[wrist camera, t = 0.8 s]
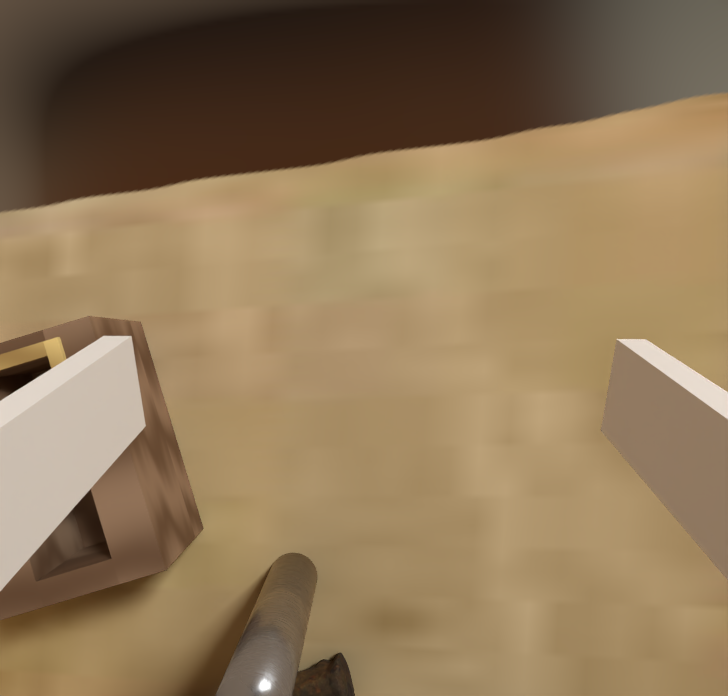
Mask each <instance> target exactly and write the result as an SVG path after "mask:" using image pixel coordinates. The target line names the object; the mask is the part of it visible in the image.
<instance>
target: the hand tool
mask: <svg viewBox="0 0 728 696" xmlns="http://www.w3.org/2000/svg"><path fill="white" fill-rule="evenodd" d="M292 696H355V694H354V688H353V684H352V679H351V675H350V671H349V668H348V665H347V662H346V660H345V658H344V656H343V655H342V653H338V654H337V655H336V657H335V658H334V660H332V661H328V660H324V659H323V660H322V661H321V662H319V663H318V664H317V666H314V667H311V668H309V669H306V670H303V671H299V672H297V677H296V681H295V686H294V691H293V695H292Z"/></svg>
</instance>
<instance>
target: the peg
mask: <svg viewBox="0 0 728 696" xmlns="http://www.w3.org/2000/svg"><path fill="white" fill-rule="evenodd" d="M316 583H317V571H316V568H315V566H314V564H313V563H312V561H311V560H310V559H309V558H307V557H306V556H304V555H302V554H299V553H288V554H285V555H282V556H281V557H279V558H278V559H277V560H276V561H275V562H274V563H273V565H272V567H271V569H270V571H269V574H268V576H267V578H266V581H265V583H264V585H263V587H262V590H261V592H260V594H259V597H258V599H257V601H256V603H255V606H254V608H253V610H252V613H251V615H250V617H249V620H248V622H247V624H246V626H245V629H244V631H243V633H242V636H241V638H240V640H239V643H238V645H237V647H236V649H235V652H234V654H233V656H232V659H231V661H230V663H229V666H228V668H227V670H226V672H225V675H224V677H223V679H222V682H221V684H220V686H219V688H218V691H217V693H216V695H215V696H292V695H293V691H294V686H295V681H296V677H297V672H298V667H299V663H300V658H301V653H302V649H303V644H304V639H305V635H306V630H307V625H308V621H309V616H310V611H311V607H312V602H313V597H314V593H315V588H316Z"/></svg>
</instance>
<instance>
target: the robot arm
mask: <svg viewBox="0 0 728 696" xmlns="http://www.w3.org/2000/svg"><path fill="white" fill-rule="evenodd" d="M145 426H146V424H145V418H144V412H143V406H142V399H141V393H140V387H139V380H138V374H137V368H136V362H135V355H134V349H133V343H132V336H103V337H101V338H99V339H98V340H96V341H95V342H93V343H92V344H90V345H88V346H87V347H85V348H84V349H82V350H80V351H79V352H77V353H76V354H74V355H72V356H71V357H69V358H68V359H66V360H64V361H63V362H61V363H60V364H58V365H57V366H55V367H53V368H52V369H50V370H49V371H47V372H45V373H44V374H42V375H41V376H39V377H37V378H36V379H34V380H33V381H31V382H29V383H28V384H26V385H25V386H23V387H22V388H20V389H18V390H17V391H15V392H14V393H12V394H10V395H9V396H7V397H6V398H4V399H2V400H1V401H0V591H1V590H2V589H3V588H4V587H5V585H6V584H7V583H8V582H9V581H10V580H11V579H12V577H13V576H14V575H15V574H16V573H17V572H18V571H19V570H20V568H21V567H22V566H23V565H24V564H25V563H26V562H27V560H28V559H29V558H30V557H31V556H32V555H33V554H34V552H35V551H36V550H37V549H38V548H39V547H40V546H41V545H42V543H43V542H44V541H45V540H46V539H47V538H48V537H49V535H50V534H51V533H52V532H53V531H54V530H55V529H56V527H57V526H58V525H59V524H60V523H61V522H62V521H63V520H64V518H65V517H66V516H67V515H68V514H69V513H70V512H71V510H72V509H73V508H74V507H75V506H76V505H77V504H78V502H79V501H80V500H81V499H82V498H83V497H84V496H85V495H86V493H87V492H88V491H89V490H90V489H91V488H92V487H93V485H94V484H95V483H96V482H97V481H98V480H99V479H100V478H101V476H102V475H103V474H104V473H105V472H106V471H107V470H108V468H109V467H110V466H111V465H112V464H113V463H114V462H115V460H116V459H117V458H118V457H119V456H120V455H121V454H122V453H123V451H124V450H125V449H126V448H127V447H128V446H129V445H130V443H131V442H132V441H133V440H134V439H135V438H136V437H137V435H138V434H139V433H140V432H141V431H142V430H143V429H144V428H145ZM601 431H602V432H603V434H604V435H605V436H606V437H607V438H608V439H609V441H610V442H611V443H612V444H613V445H614V447H615V448H616V449H617V450H618V451H619V452H620V454H621V455H622V456H623V457H624V458H625V460H626V461H627V462H628V463H629V464H630V465H631V467H632V468H633V469H634V470H635V471H636V472H637V474H638V475H639V476H640V477H641V478H642V480H643V481H644V482H645V483H646V484H647V485H648V487H649V488H650V489H651V490H652V491H653V493H654V494H655V495H656V496H657V497H658V498H659V500H660V501H661V502H662V503H663V504H664V505H665V507H666V508H667V509H668V510H669V511H670V513H671V514H672V515H673V516H674V517H675V518H676V520H677V521H678V522H679V523H680V524H681V526H682V527H683V528H684V529H685V530H686V531H687V533H688V534H689V535H690V536H691V537H692V539H693V540H694V541H695V542H696V543H697V544H698V546H699V547H700V548H701V549H702V550H703V551H704V553H705V554H706V555H707V556H708V557H709V559H710V560H711V561H712V562H713V563H714V564H715V566H716V567H717V568H718V569H719V570H720V572H721V573H722V574H723V575H724V576H725V577H726V579H727V580H728V392H726V391H725V390H723V389H722V388H720V387H719V386H717V385H716V384H714V383H712V382H711V381H709V380H708V379H706V378H705V377H703V376H702V375H700V374H699V373H697V372H695V371H694V370H692V369H691V368H689V367H688V366H686V365H685V364H683V363H682V362H680V361H678V360H677V359H675V358H674V357H672V356H671V355H669V354H668V353H666V352H664V351H663V350H661V349H660V348H658V347H657V346H655V345H654V344H652V343H651V342H649V341H647V340H646V339H617V340H616V346H615V352H614V358H613V364H612V369H611V375H610V381H609V387H608V393H607V398H606V404H605V410H604V416H603V422H602V427H601Z"/></svg>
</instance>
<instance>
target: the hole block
mask: <svg viewBox="0 0 728 696" xmlns="http://www.w3.org/2000/svg"><path fill="white" fill-rule="evenodd" d="M103 336H132V343H133V349H134V355H135V362H136V368H137V374H138V380H139V387H140V393H141V399H142V406H143V412H144V418H145V424H146V426H145V428H144V429H143V430H142V431H141V432H140V433H139V434H138V435H137V437H136V438H135V439H134V440H133V441H132V442H131V443H130V445H129V446H128V447H127V448H126V449H125V450H124V451H123V453H122V454H121V455H120V456H119V457H118V458H117V459H116V460H115V462H114V463H113V464H112V465H111V466H110V467H109V468H108V470H107V471H106V472H105V473H104V474H103V475H102V476H101V478H100V479H99V480H98V481H97V482H96V483H95V484H94V485H93V487H92V488H91V489H90V490H89V491H88V492H87V493H86V495H85V496H84V497H83V498H82V499H81V500H80V501H79V502H78V504H77V505H76V506H75V507H74V508H73V509H72V510H71V512H70V513H69V514H68V515H67V516H66V517H65V518H64V520H63V521H62V522H61V523H60V524H59V525H58V526H57V527H56V529H55V530H54V531H53V532H52V533H51V534H50V535H49V537H48V538H47V539H46V540H45V541H44V542H43V543H42V545H41V546H40V547H39V548H38V549H37V550H36V551H35V552H34V554H33V555H32V556H31V557H30V558H29V559H28V560H27V562H26V563H25V564H24V565H23V566H22V567H21V568H20V570H19V571H18V572H17V573H16V574H15V575H14V576H13V577H12V579H11V580H10V581H9V582H8V583H7V584H6V585H5V587H4V588H3V589H2V590H1V591H0V620H3V619H6V618H9V617H13V616H16V615H19V614H22V613H26V612H29V611H32V610H36V609H39V608H42V607H46V606H49V605H52V604H56V603H59V602H62V601H66V600H69V599H72V598H75V597H79V596H82V595H85V594H89V593H92V592H95V591H99V590H102V589H105V588H109V587H112V586H115V585H118V584H122V583H125V582H128V581H132V580H135V579H138V578H142V577H145V576H148V575H152V574H155V573H158V572H161V571H165V570H167V568H168V567H169V566H170V565H171V564H172V563H173V562H174V561H175V560H176V558H177V557H178V556H179V555H180V554H181V553H182V552H183V551H184V550H185V549H186V547H187V546H188V545H189V544H190V543H191V542H192V541H193V540H194V539H195V538H196V536H197V535H198V534H199V533H200V532H201V531H202V530H203V526H202V522H201V519H200V516H199V513H198V509H197V506H196V503H195V499H194V496H193V493H192V489H191V486H190V483H189V480H188V476H187V473H186V470H185V466H184V463H183V460H182V457H181V453H180V450H179V447H178V443H177V440H176V437H175V433H174V430H173V427H172V424H171V420H170V417H169V414H168V410H167V407H166V404H165V401H164V397H163V394H162V391H161V387H160V384H159V381H158V377H157V374H156V371H155V368H154V364H153V361H152V358H151V354H150V351H149V348H148V344H147V341H146V338H145V335H144V331H143V328H142V325H141V322H137V321H128V320H119V319H110V318H102V317H93V316H87V317H84V318H81V319H78V320H74V321H71V322H68V323H65V324H61V325H58V326H55V327H51V328H48V329H45V330H42V331H38V332H35V333H32V334H29V335H25V336H22V337H19V338H15V339H12V340H9V341H6V342H2V343H0V401H1V400H2V399H4V398H6V397H7V396H9V395H10V394H12V393H14V392H15V391H17V390H18V389H20V388H22V387H23V386H25V385H26V384H28V383H29V382H31V381H33V380H34V379H36V378H37V377H39V376H41V375H42V374H44V373H45V372H47V371H49V370H50V369H52V368H53V367H55V366H57V365H58V364H60V363H61V362H63V361H64V360H66V359H68V358H69V357H71V356H72V355H74V354H76V353H77V352H79V351H80V350H82V349H84V348H85V347H87V346H88V345H90V344H92V343H93V342H95V341H96V340H98V339H99V338H101V337H103Z"/></svg>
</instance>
